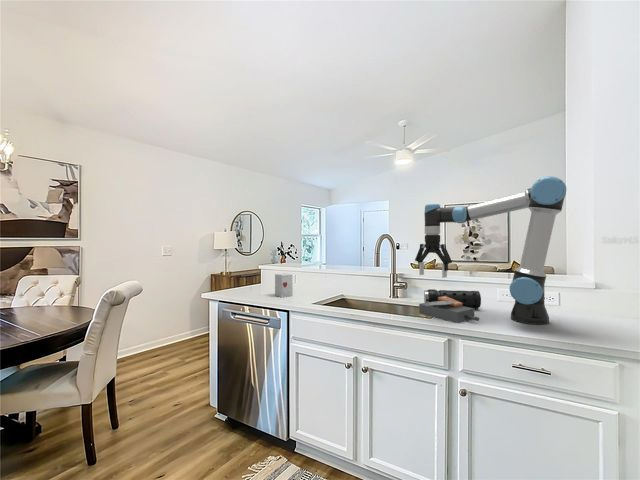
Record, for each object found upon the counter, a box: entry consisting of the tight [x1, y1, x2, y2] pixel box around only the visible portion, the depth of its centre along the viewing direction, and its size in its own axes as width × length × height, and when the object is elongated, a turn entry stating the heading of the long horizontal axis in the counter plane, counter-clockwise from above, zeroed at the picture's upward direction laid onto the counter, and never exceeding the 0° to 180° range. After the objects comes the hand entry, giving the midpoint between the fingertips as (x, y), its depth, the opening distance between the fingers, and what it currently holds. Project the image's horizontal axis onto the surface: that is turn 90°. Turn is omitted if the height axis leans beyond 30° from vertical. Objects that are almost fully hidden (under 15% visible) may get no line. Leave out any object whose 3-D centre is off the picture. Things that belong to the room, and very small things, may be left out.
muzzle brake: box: [423, 288, 482, 310], centre depth 178 cm, size 10×28×10 cm, turn 78°
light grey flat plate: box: [429, 301, 454, 305], centre depth 159 cm, size 10×6×1 cm, turn 32°
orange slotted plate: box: [438, 296, 463, 307], centre depth 163 cm, size 10×6×1 cm, turn 33°
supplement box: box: [274, 272, 293, 298], centre depth 220 cm, size 9×9×15 cm
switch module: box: [418, 301, 480, 324], centre depth 158 cm, size 28×13×6 cm, turn 32°
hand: (432, 276), depth 165 cm, fingers open, 13 cm apart
